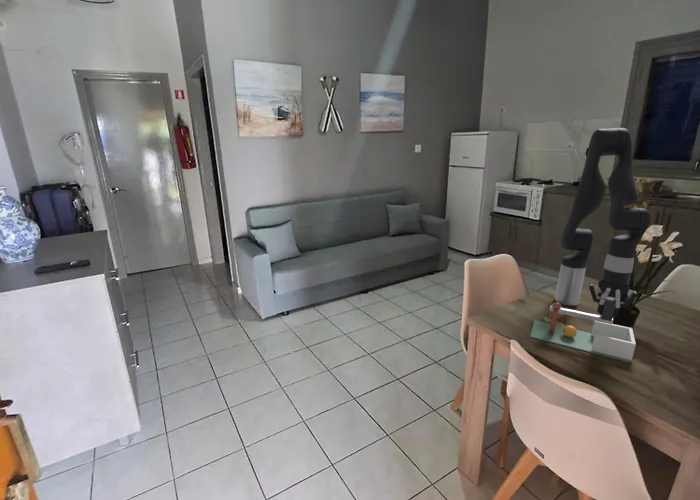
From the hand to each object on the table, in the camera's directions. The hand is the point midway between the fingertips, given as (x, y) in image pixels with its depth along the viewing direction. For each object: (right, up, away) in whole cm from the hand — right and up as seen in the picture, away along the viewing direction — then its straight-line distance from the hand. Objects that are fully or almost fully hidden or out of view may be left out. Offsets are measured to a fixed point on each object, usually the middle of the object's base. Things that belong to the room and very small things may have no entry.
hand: (606, 314), depth 123 cm
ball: (-8, -7, +8) cm, 13 cm away
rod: (-6, -9, +7) cm, 13 cm away
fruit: (-6, -7, +20) cm, 22 cm away
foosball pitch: (-5, -10, +7) cm, 14 cm away
